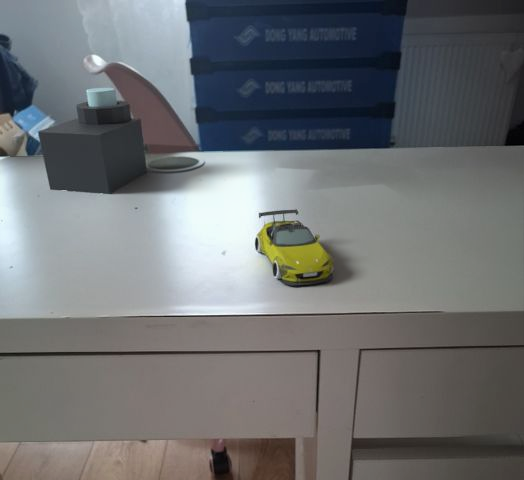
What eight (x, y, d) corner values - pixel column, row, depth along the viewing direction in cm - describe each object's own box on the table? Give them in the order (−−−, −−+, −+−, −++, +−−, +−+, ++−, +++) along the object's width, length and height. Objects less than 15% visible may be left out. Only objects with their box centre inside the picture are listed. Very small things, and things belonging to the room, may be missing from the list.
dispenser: (109, 194, 65) (97, 116, 60) (50, 189, 67) (33, 114, 62) (151, 170, 74) (144, 101, 70) (98, 166, 76) (87, 99, 71)
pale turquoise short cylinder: (109, 110, 66) (106, 91, 65) (83, 109, 67) (80, 90, 66) (122, 105, 69) (120, 87, 68) (98, 105, 70) (95, 87, 69)
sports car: (279, 289, 43) (280, 253, 41) (250, 243, 51) (249, 211, 50) (341, 282, 44) (343, 246, 42) (303, 238, 52) (303, 206, 51)
